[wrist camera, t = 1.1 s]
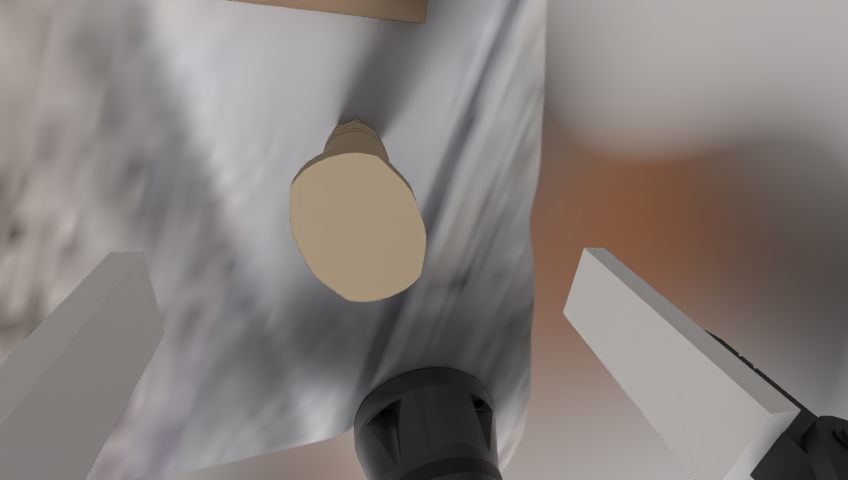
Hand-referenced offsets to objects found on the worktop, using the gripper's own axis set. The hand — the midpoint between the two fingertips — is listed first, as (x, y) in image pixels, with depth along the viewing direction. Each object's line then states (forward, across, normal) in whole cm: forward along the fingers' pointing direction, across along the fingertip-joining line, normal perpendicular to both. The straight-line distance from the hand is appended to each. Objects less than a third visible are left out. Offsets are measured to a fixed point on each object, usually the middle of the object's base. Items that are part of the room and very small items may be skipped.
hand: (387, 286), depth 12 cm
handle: (+19, 0, 0) cm, 19 cm away
